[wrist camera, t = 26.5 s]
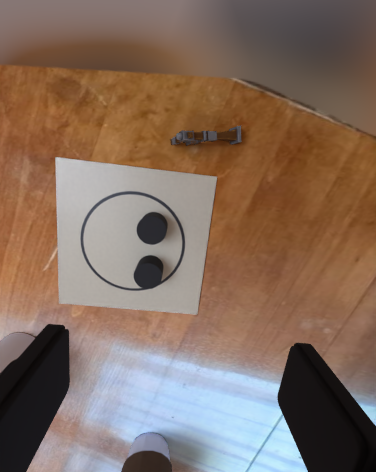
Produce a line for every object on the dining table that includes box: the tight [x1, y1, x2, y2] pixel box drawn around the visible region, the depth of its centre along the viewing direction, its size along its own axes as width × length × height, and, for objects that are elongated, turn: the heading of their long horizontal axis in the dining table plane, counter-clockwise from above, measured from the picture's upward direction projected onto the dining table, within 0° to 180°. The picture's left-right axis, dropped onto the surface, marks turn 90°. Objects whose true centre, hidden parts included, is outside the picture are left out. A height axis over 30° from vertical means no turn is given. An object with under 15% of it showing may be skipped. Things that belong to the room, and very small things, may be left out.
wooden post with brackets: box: [170, 126, 241, 145], centre depth 27 cm, size 2×8×4 cm, turn 96°
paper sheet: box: [56, 157, 217, 314], centre depth 31 cm, size 20×20×1 cm
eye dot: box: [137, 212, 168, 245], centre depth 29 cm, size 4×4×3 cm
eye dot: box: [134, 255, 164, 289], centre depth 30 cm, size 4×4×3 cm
